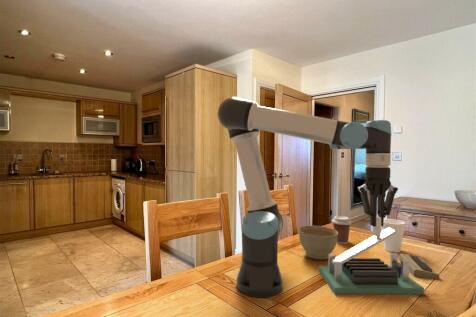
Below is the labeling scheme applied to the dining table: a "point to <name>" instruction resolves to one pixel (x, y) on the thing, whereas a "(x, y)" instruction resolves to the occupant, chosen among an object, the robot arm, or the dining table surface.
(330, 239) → the planter bowl
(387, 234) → the steel strap
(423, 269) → the computer
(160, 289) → the dining table surface
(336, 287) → the circuit board
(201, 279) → the dining table surface
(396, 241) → the foam cup
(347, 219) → the coffee cup
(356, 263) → the heat sink mount
